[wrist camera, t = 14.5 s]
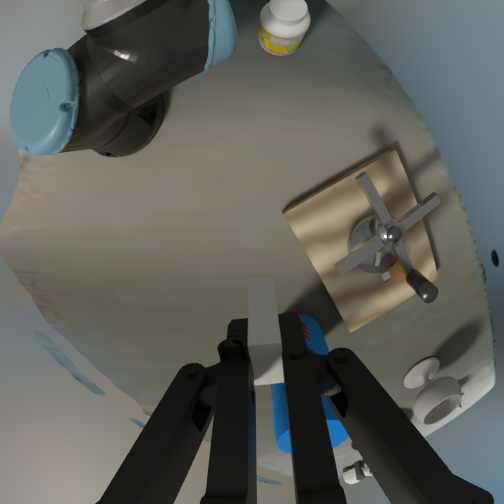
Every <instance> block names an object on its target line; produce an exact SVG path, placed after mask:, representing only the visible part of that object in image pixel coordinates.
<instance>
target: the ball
mask: <svg viewBox="0 0 504 504" xmlns="http://www.w3.org/2000/svg"><path fill="white" fill-rule="evenodd" d="M388 272H389V275H390V277H391V278H392V279H394V280H402V279H403V278H404V277H405V274H404V272H403V270H402V268H401V265H400V263H399V261H398V260H397V262H396V263H395V264H394V265H393V266H392V267H390V268H389V269H388Z"/></svg>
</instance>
